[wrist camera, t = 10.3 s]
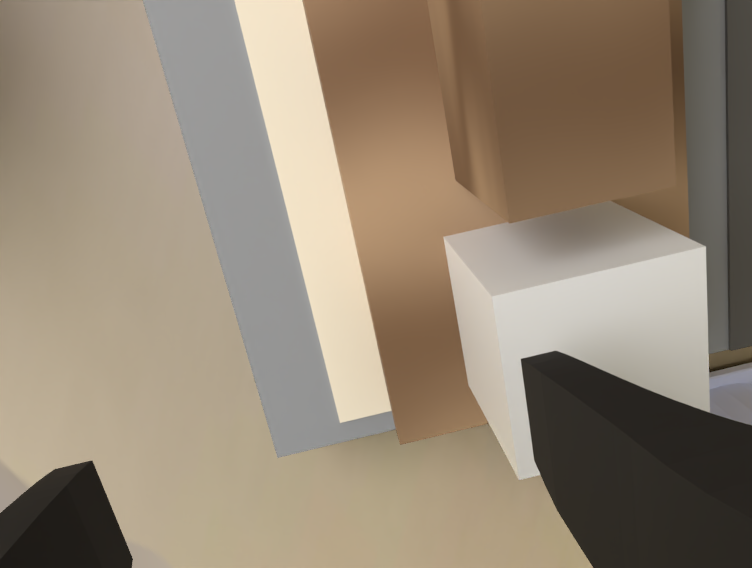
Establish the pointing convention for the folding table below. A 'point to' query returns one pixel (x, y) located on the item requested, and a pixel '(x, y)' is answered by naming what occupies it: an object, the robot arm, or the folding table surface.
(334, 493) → the folding table surface
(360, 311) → the dock
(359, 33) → the pallet
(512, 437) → the block
